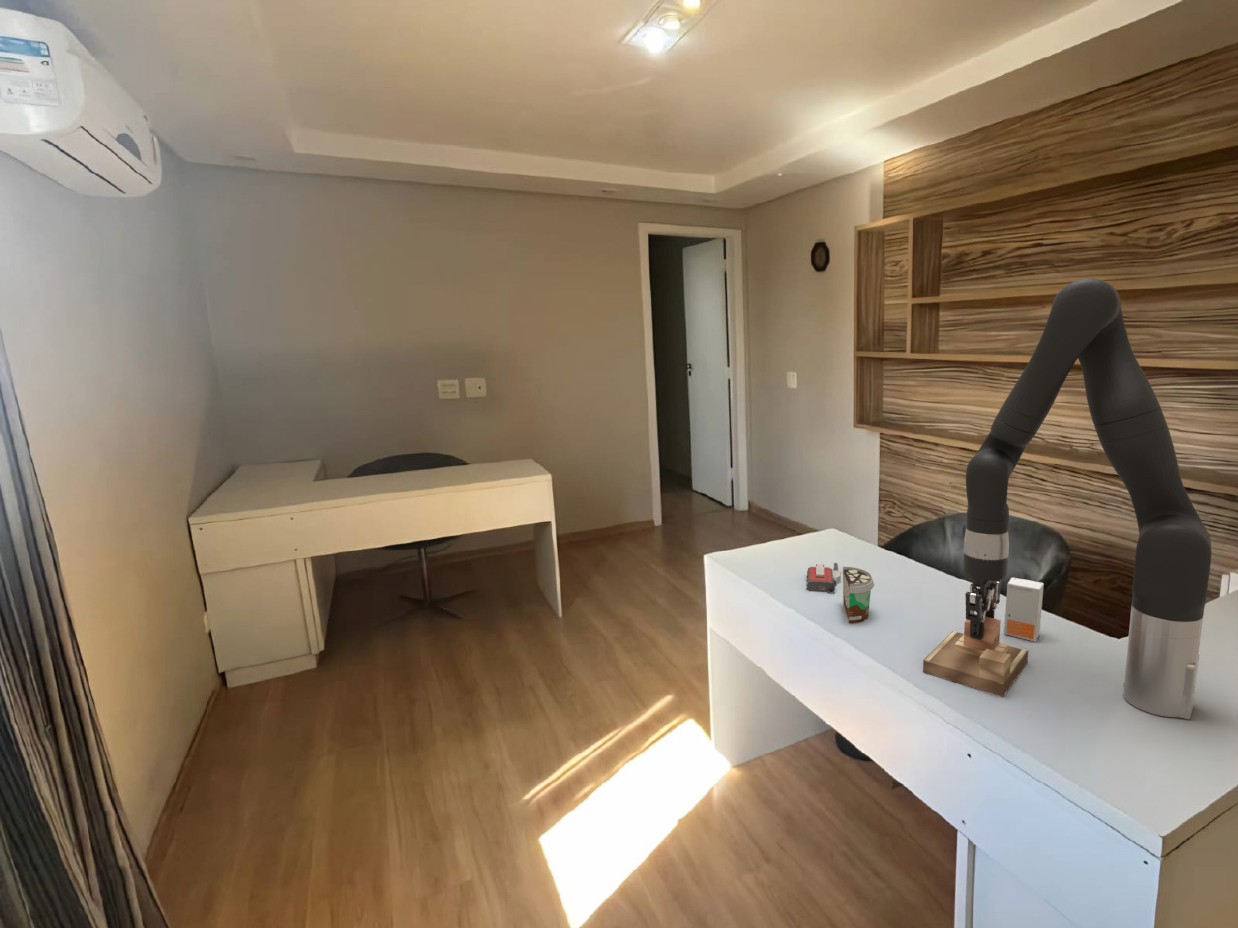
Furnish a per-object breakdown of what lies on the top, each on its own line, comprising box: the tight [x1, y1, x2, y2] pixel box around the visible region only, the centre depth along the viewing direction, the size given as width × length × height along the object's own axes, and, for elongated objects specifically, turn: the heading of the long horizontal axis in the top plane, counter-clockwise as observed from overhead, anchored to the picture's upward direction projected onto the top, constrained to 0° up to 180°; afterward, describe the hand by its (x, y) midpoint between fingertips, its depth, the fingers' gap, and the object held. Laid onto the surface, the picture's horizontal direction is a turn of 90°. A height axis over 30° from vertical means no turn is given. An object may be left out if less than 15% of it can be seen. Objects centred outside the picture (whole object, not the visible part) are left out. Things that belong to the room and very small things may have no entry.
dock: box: [922, 630, 1029, 698], centre depth 127 cm, size 14×16×3 cm
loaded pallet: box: [954, 613, 1010, 657], centre depth 128 cm, size 8×6×6 cm
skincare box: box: [1003, 577, 1045, 643], centre depth 137 cm, size 6×4×12 cm
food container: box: [842, 566, 875, 624], centre depth 152 cm, size 12×6×10 cm, turn 168°
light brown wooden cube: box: [979, 649, 1011, 684], centre depth 118 cm, size 4×4×4 cm
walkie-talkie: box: [806, 562, 842, 593], centre depth 175 cm, size 9×4×20 cm
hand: (982, 631), depth 128 cm, fingers open, 6 cm apart
